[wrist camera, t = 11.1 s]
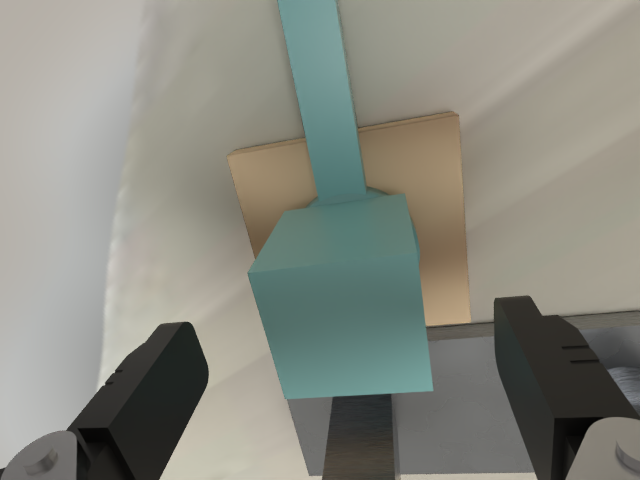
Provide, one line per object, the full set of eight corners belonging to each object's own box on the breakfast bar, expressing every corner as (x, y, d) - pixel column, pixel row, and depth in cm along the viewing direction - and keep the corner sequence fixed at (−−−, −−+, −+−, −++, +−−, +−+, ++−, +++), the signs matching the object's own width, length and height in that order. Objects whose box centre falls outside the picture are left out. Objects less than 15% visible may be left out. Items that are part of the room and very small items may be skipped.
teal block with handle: (384, -42, 13) (391, -116, 7) (423, 290, 18) (444, 398, 12) (233, -3, 14) (139, -42, 8) (307, 302, 19) (278, 406, 13)
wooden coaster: (235, 149, 18) (226, 155, 16) (453, 111, 16) (458, 115, 15) (282, 323, 21) (277, 338, 20) (465, 307, 19) (470, 322, 18)
